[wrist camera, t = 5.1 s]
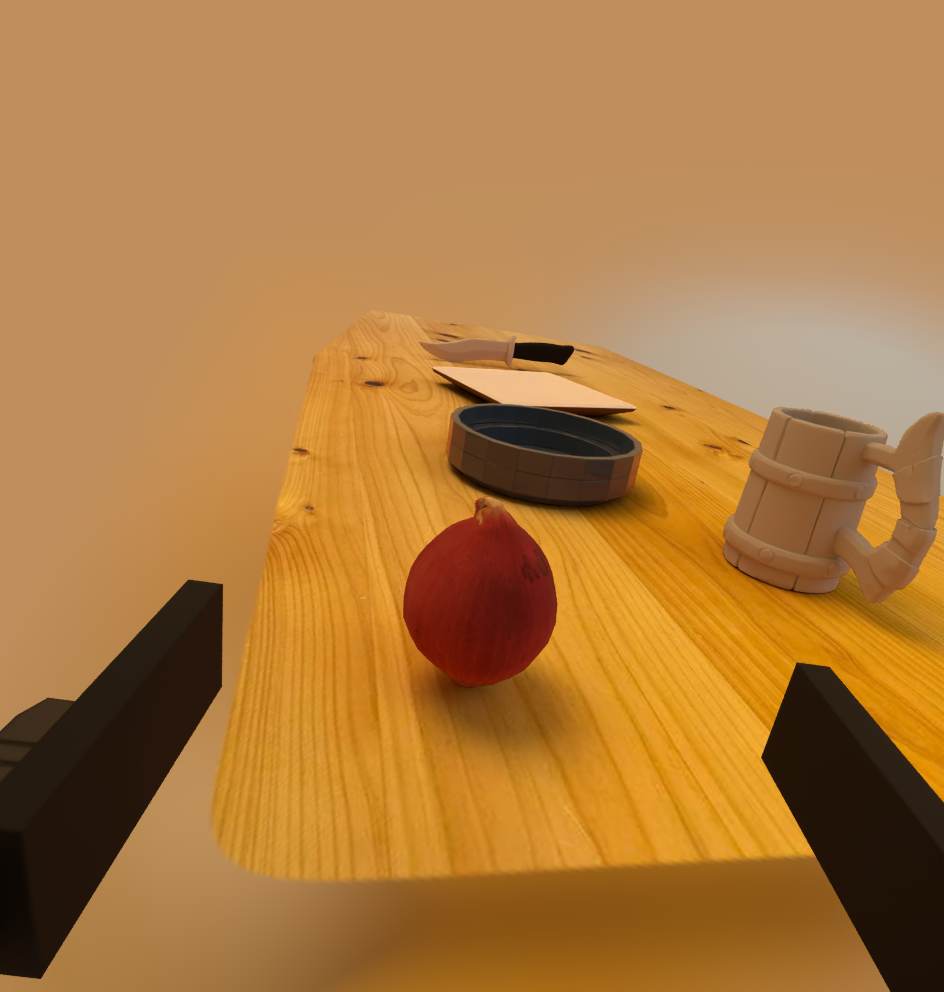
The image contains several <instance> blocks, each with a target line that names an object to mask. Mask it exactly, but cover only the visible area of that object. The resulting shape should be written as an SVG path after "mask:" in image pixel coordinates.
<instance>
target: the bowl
mask: <svg viewBox="0 0 944 992" xmlns="http://www.w3.org/2000/svg"><path fill="white" fill-rule="evenodd" d="M642 451H643V450H642V446H641V443H640V442H639V441H638V440H637V439H636V438H634V437H633V436H632V435H631V434H629V433H627V432H624V431H622V430H620V429H618V428H616V427H614V426H612V425H609V424H606V423H603V422H600V421H597V420H594V419H591V418H587V417H583V416H579V415H575V414H571V413H567V412H563V411H557V410H552V409H547V408H540V407H533V406H524V405H516V404H495V403H492V404H491V403H489V404H472V405H468V406H464V407H460V408H457V409H456V410H455V411H454V412H453V413H452V414H451V417H450V425H449V432H448V439H447V446H446V454H447V458H448V461H449V462H450V463H452V464H453V465H454V466H455V467H456V468H457V469H459V470H460V471H461V472H462V473H463V474H464V475H465V476H466V477H468V478H469V479H471V480H472V481H474V482H476V483H477V484H479V485H481V486H483V487H486V488H488V489H490V490H493V491H496V492H498V493H501V494H504V495H508V496H511V497H515V498H519V499H523V500H528V501H533V502H538V503H545V504H553V505H565V506H585V505H594V504H600V503H604V502H607V501H609V500H611V499H614V498H618V497H623V496H625V495H626V494H627V493H628V492H629V491H631V490H632V489H633V487H634V483H635V479H636V475H637V471H638V467H639V463H640V459H641V455H642Z"/></svg>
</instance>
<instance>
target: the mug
mask: <svg viewBox="0 0 944 992" xmlns="http://www.w3.org/2000/svg"><path fill="white" fill-rule="evenodd" d="M887 437H888V435H887V433H885V432H884V431H883V430H881V429H879V428H877V427H875V426H872V425H869V424H864V423H862V422H860V421H856V420H852V419H849V418H845V417H841V416H838V415H834V414H830V413H825V412H820V411H814V412H813V411H812V410H808V409H794V408H785V407H778V408H774V409H773V411H772V413H771V416H770V419H769V421H768V424H767V427H766V430H765V432H764V435H763V438H762V440H761V443H760V446H759V448H756V449H755V450H754V451H753V453H752V456H751V458H750V460H749V466H750V468H751V471H750V474H749V477H748V480H747V482H746V485H745V488H744V491H743V493H742V496H741V499H740V502H739V505H738V507H737V510H736V513H735V514H733V515H732V516H730V517H729V518H728V519H727V522H726V524H725V527H724V531H723V536H724V538H725V539H726V541H725V544H724V547H723V553H724V556H725V558H726V559H727V560H728V561H729V562H730V563H731V564H732V565H733V566H735V567H739V569H740V570H741V571H743V572H745V573H746V574H748V575H750V576H752V577H754V578H757V579H759V580H761V581H764V582H766V583H769V584H772V585H775V586H778V587H781V588H784V589H788V590H790V589H792V588H793V590H794V591H799V592H805V593H827V592H830V591H832V590H834V589H835V588H836V586H837V585H838V583H839V580H840V577H841V576H843V575H845V574H847V573H848V571H849V570H850V568H852V570H853V571H854V573H855V574H856V576H857V578H858V581H859V584H860V587H861V590H862V592H863V595H864V597H865V599H866V600H868V601H869V602H871V603H878V602H882V601H884V600H885V599H886V598H887V597H889V596H890V595H891V594H892V593H893V592H894V591H895V590H901V589H904V588H905V587H906V586H907V585H908V584H909V583H910V582H911V581H912V580H913V579H914V578H915V577H916V575H917V574H918V572H919V569H918V568H919V566H920V565H921V563H922V561H923V559H924V557H926V554H927V552H928V550H929V549H930V547H931V545H932V544H933V542H934V540H935V537H936V532H937V529H935V528H934V527H935V524H936V521H937V518H938V511H939V496H940V477H941V465H942V459H943V457H942V456H941V452H942V447H943V441H944V413H940V412H935V413H930V414H927V415H925V416H923V417H922V418H920V419H919V420H918V421H917V422H916V423H914V424H913V425H912V426H911V427H909V429H908V430H907V431H906V432H905V433H904V435H903V436H902V438H901V440H900V443H899V445H898V447H897V449H895V448H893V447H891V446H888V445H885V444H886V441H887ZM878 466H880V467H883V468H885V469H888V470H890V471H892V472H894V474H893V478H894V481H895V487H896V494H897V497H898V499H899V500H900V506H901V515H902V516H901V519H897V524H896V527H895V529H894V532H893V534H892V538H891V539H890V540H889V541H886V542H884V543H883V544H882V545H880V546H878V547H876V548H873V547H872V546H871V545H870V543H869V542H868V541H867V540H866V539H865V538H864V537H863V536H862V535H861V534H860V533H859V532H858V531H856V530H857V527H858V524H859V521H860V518H861V515H862V512H863V509H864V506H865V503H866V500H867V499H869V498H871V497H872V496H873V494H874V491H875V489H876V487H877V479H876V477H875V474H876V471H877V468H878Z"/></svg>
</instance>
